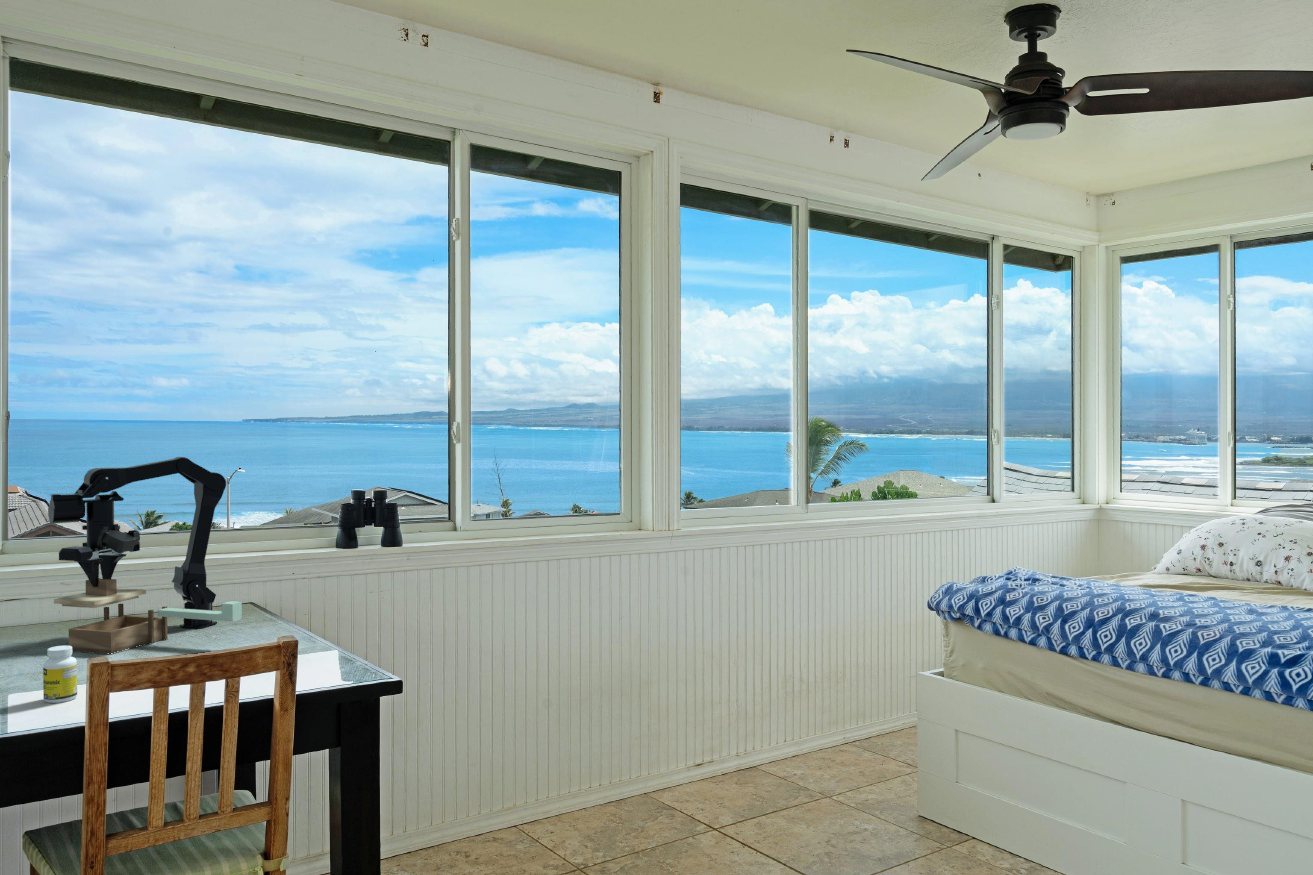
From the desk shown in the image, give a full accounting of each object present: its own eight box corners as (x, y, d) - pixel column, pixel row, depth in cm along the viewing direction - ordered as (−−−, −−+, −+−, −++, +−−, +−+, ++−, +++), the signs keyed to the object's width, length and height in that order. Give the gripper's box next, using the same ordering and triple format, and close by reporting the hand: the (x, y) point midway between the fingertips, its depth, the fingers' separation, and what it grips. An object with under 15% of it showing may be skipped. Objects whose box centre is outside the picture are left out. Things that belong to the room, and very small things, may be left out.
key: (167, 613, 225) (167, 597, 225) (241, 618, 220) (241, 601, 219) (157, 616, 222) (157, 599, 222) (232, 621, 217) (232, 604, 217)
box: (122, 635, 231) (122, 603, 231) (169, 638, 227) (169, 606, 227) (65, 650, 215) (64, 616, 215) (114, 654, 212) (114, 619, 211)
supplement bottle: (36, 701, 176) (36, 649, 176) (63, 693, 181) (63, 643, 181) (57, 704, 174) (56, 652, 174) (84, 696, 179) (83, 645, 179)
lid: (107, 594, 235) (107, 573, 235) (146, 596, 232) (145, 575, 232) (53, 606, 220) (53, 584, 220) (94, 609, 217) (94, 586, 217)
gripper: (96, 525, 215) (97, 594, 215) (158, 517, 233) (158, 580, 233) (56, 524, 217) (57, 591, 218) (120, 516, 235) (121, 578, 236)
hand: (101, 585), depth 226 cm, fingers closed on lid, 3 cm apart
